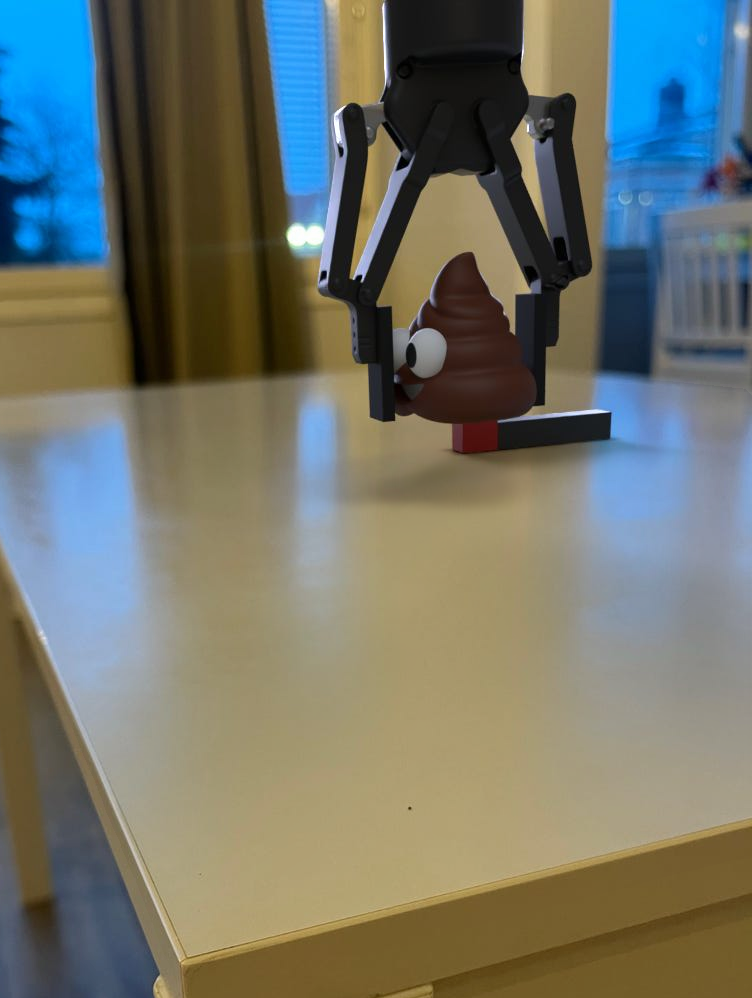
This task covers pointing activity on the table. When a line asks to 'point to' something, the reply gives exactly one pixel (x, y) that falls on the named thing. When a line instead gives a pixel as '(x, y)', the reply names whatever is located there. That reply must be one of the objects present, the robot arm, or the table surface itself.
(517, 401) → the poop emoji
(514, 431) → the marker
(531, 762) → the table surface
